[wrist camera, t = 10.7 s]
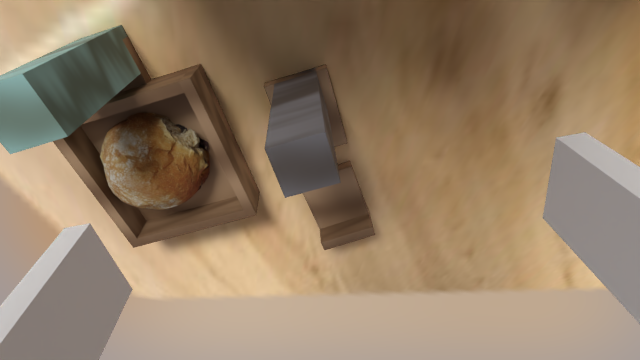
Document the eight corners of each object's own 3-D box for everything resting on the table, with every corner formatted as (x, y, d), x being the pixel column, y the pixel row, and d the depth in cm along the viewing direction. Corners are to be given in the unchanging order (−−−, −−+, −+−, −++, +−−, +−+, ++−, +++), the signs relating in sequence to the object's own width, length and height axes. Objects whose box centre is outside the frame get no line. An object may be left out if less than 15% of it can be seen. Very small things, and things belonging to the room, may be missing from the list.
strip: (298, 178, 42) (298, 197, 39) (349, 160, 41) (353, 178, 38) (322, 229, 46) (324, 250, 43) (369, 214, 45) (375, 234, 42)
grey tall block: (265, 82, 36) (249, 153, 24) (325, 64, 35) (340, 127, 24) (291, 153, 40) (289, 242, 28) (346, 138, 40) (367, 222, 28)
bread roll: (127, 99, 40) (58, 132, 34) (206, 103, 36) (145, 140, 30) (158, 179, 45) (103, 220, 39) (230, 189, 41) (182, 236, 35)
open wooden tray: (29, 55, 33) (-116, 119, 22) (174, 7, 32) (104, 46, 20) (146, 222, 44) (92, 326, 32) (259, 192, 43) (245, 288, 31)
